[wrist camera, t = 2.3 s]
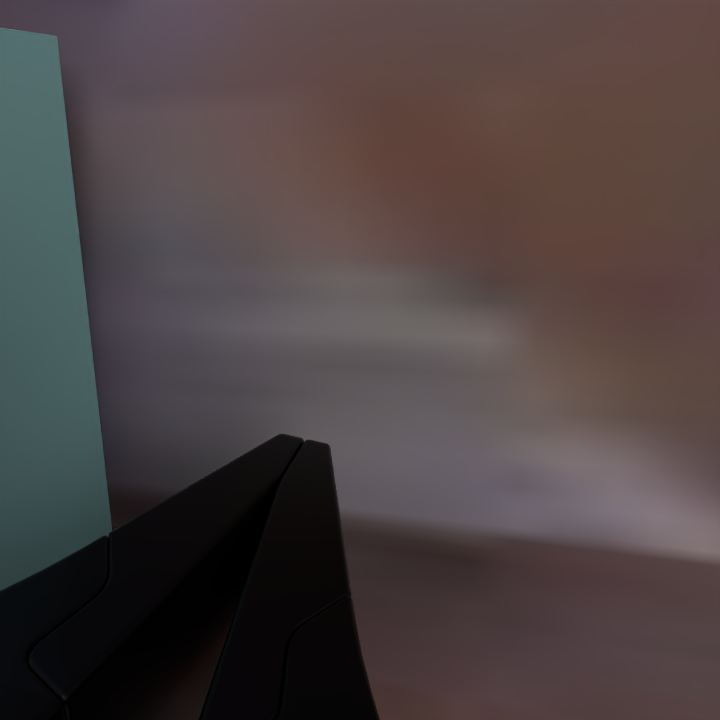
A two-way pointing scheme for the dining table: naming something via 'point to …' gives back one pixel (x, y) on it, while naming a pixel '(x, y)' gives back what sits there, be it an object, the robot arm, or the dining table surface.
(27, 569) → the teal tray
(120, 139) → the dining table surface
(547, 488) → the dining table surface
